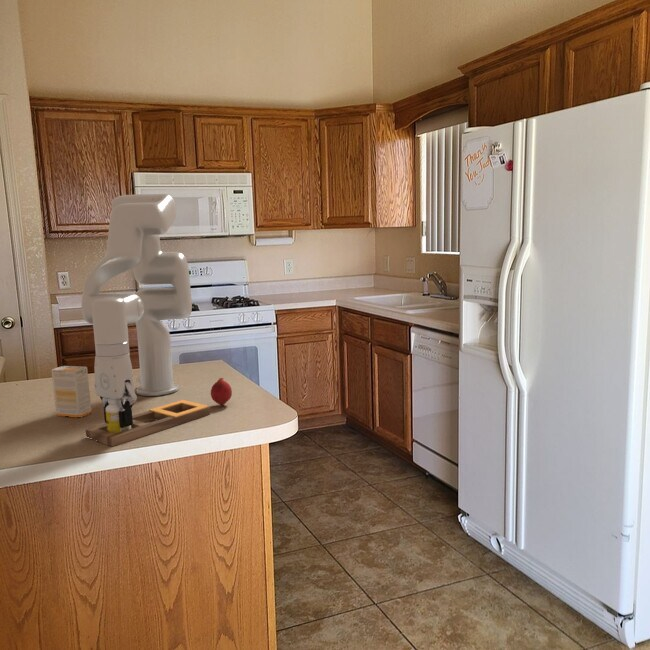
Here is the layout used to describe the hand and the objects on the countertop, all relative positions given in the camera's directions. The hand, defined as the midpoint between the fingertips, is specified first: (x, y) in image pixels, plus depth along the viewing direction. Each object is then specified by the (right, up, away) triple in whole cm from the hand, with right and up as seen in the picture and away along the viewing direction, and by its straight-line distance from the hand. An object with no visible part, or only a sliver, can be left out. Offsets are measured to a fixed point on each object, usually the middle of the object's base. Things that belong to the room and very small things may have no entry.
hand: (118, 423), depth 144 cm
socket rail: (+6, -2, +7) cm, 9 cm away
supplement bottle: (0, -3, +1) cm, 3 cm away
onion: (+21, +1, +23) cm, 31 cm away
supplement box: (-18, -1, +19) cm, 26 cm away
